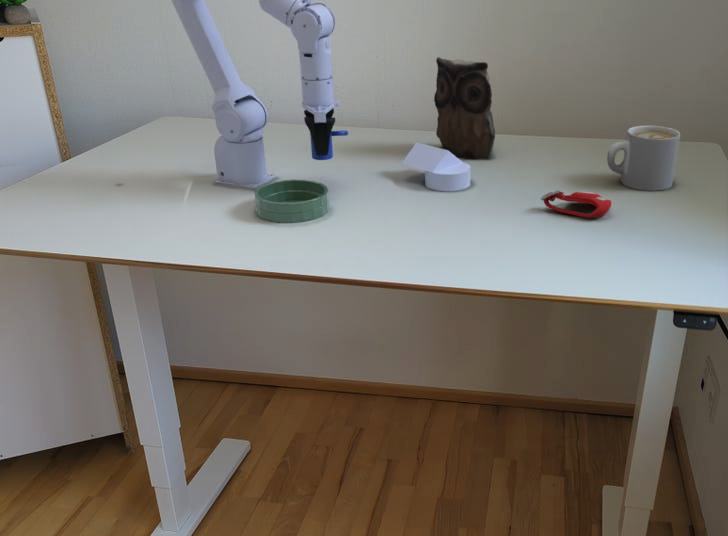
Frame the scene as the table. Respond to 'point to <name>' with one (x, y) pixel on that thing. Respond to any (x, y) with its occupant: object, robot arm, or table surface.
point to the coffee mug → (647, 157)
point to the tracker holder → (581, 198)
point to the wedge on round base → (439, 168)
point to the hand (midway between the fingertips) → (321, 151)
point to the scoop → (330, 152)
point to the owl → (464, 108)
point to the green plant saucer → (291, 201)
